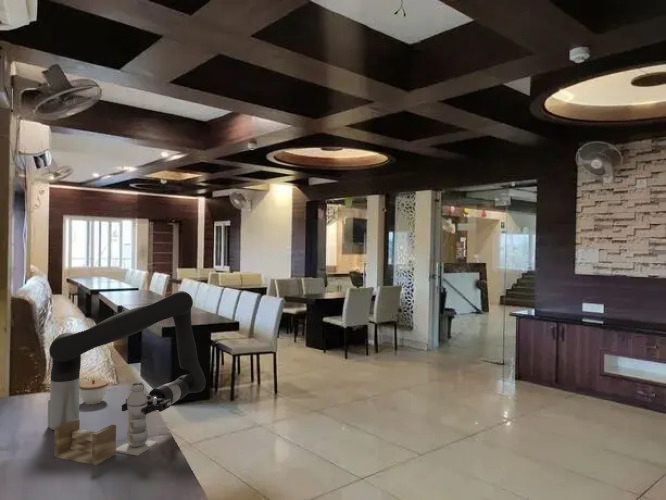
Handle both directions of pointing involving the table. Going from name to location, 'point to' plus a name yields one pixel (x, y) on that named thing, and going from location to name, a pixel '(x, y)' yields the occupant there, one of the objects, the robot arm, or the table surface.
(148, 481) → the table surface
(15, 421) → the table surface
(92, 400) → the lidded jar
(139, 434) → the plastic bottle
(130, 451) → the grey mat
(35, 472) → the table surface
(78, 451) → the offcut rack
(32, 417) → the table surface
